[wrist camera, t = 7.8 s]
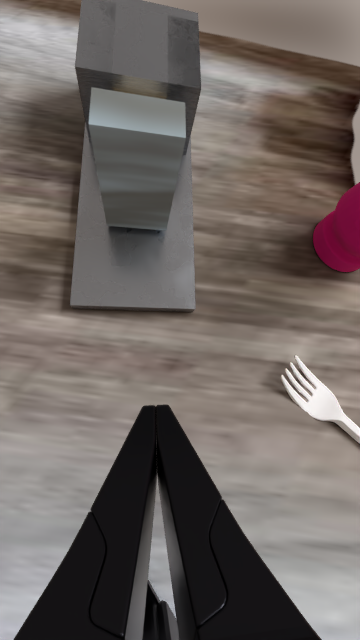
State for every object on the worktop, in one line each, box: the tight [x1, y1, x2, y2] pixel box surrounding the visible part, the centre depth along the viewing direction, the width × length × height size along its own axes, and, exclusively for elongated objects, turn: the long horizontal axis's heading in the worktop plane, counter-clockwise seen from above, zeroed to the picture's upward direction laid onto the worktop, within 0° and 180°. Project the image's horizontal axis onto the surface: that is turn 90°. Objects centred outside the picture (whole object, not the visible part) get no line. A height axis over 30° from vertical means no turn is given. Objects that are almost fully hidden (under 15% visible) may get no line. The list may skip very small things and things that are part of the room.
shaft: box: [89, 87, 186, 231], centre depth 20 cm, size 15×5×9 cm, turn 1°
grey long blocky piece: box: [70, 0, 201, 312], centre depth 22 cm, size 24×10×7 cm, turn 1°
